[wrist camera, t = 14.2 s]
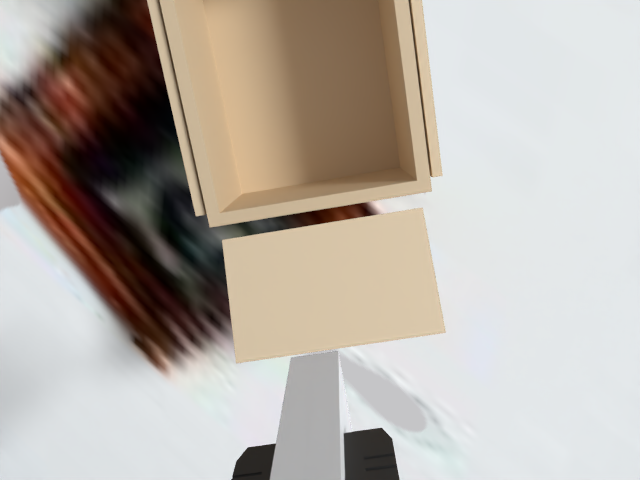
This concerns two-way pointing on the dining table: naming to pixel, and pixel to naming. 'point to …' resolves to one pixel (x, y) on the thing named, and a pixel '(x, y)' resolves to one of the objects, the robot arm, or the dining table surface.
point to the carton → (298, 102)
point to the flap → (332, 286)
